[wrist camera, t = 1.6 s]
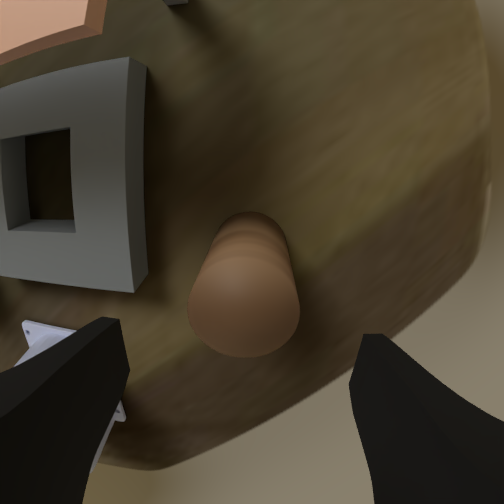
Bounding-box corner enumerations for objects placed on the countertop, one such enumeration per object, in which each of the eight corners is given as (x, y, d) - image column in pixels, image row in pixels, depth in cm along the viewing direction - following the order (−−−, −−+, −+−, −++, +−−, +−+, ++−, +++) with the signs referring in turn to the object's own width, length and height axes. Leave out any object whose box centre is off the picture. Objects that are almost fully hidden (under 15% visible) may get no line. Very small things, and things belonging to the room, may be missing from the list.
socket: (148, 273, 18) (134, 292, 16) (9, 260, 19) (-11, 273, 16) (146, 66, 14) (129, 56, 12) (-3, 98, 14) (-27, 99, 12)
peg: (283, 281, 18) (293, 359, 12) (213, 277, 18) (190, 353, 12) (289, 214, 17) (306, 265, 10) (214, 210, 17) (185, 258, 10)
